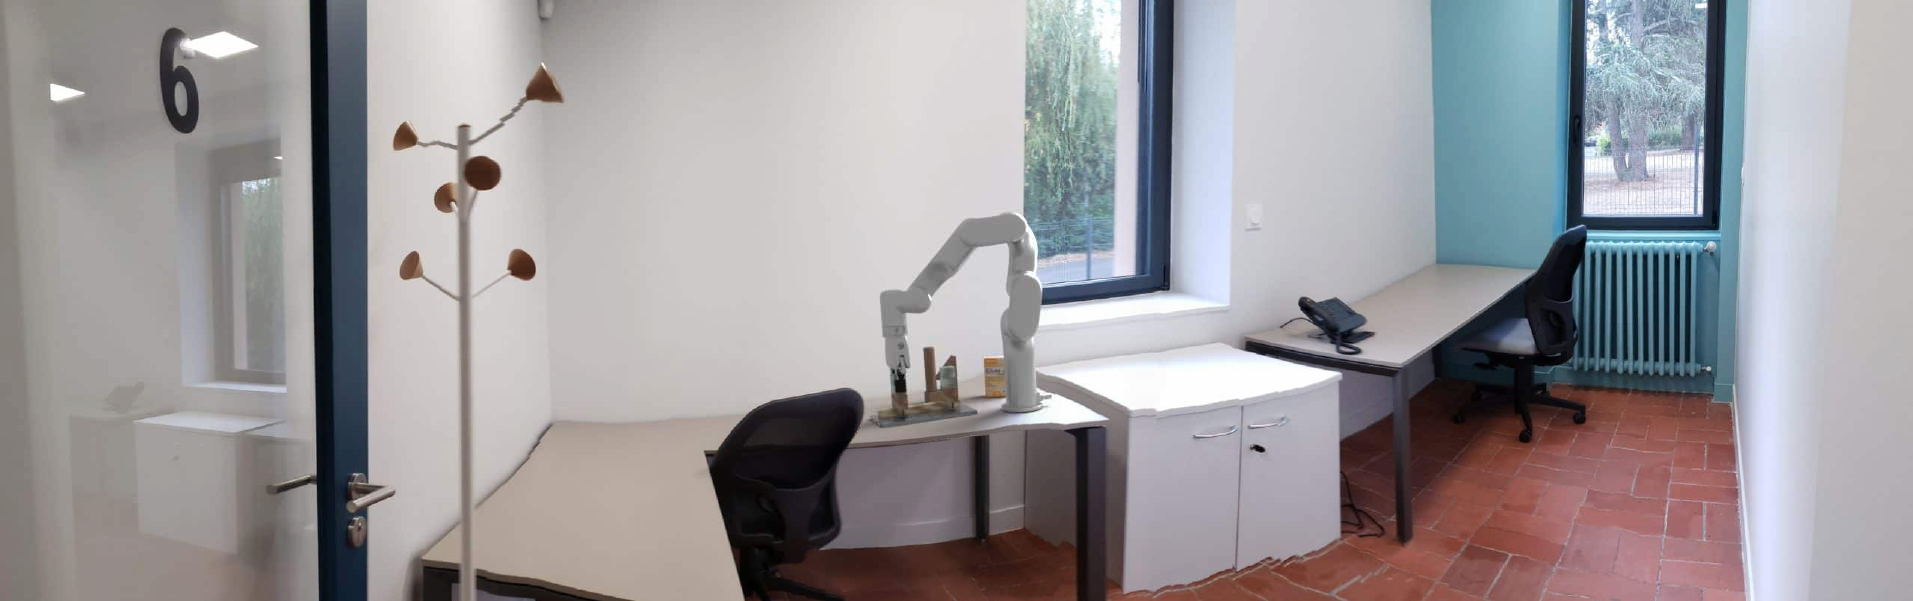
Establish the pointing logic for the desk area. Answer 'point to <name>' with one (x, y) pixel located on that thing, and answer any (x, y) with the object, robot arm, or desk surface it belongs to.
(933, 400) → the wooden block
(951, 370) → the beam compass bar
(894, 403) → the sliding leg
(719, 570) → the desk surface
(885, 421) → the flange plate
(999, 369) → the supplement box
